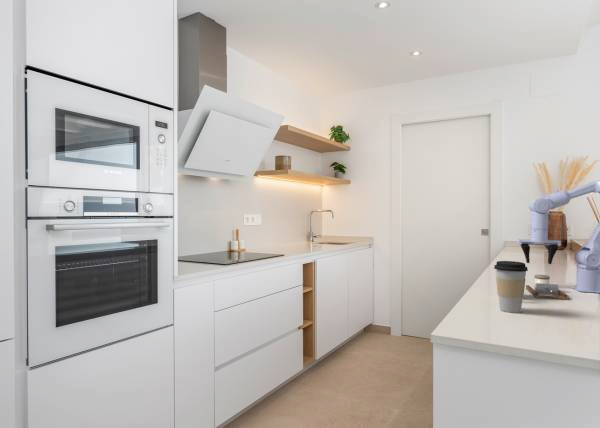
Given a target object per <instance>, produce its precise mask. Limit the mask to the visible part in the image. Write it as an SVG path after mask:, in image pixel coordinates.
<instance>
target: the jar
mask: <svg viewBox="0 0 600 428" xmlns="http://www.w3.org/2000/svg"><path fill="white" fill-rule="evenodd" d="M533 278H534V290H535V291H536V283H541V284H550V279H551V276H550V275H546V274H534V277H533Z"/></svg>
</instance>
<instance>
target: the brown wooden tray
mask: <svg viewBox="0 0 600 428" xmlns="http://www.w3.org/2000/svg"><path fill="white" fill-rule="evenodd" d="M525 290H527V292H529V294H531V295H532V296H533V297H534V298H535V299H547V300H561V301H569V299H570V298H569V296H568V294H567V293H565V292H564V291H562V290H561V289H559V288H558V296H552V295H538V292H536V291H535V288H533V287H531V286H530V285H529V284H525Z"/></svg>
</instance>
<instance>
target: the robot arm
mask: <svg viewBox="0 0 600 428" xmlns="http://www.w3.org/2000/svg"><path fill="white" fill-rule="evenodd" d="M590 193H594V194H595V193H598V194H600V180H595V181H591V182H588V183H585V184H583V185H580V186H578V187H575V188H573V189H570V190H568V191H565V190H563V189H562V190H559V189H556V190H554V191H553V193H550V194H547V195H545V194H544V195H541V198H535V199H533V200H532V201H531V202H530V204H529V206H528V208H529V210H530V212H531V217H530V238H529V239H521V238H520V239H517V244H518V245H520V247H521V249H522V252H523V254H524V257H525V258H524V259H525V262H526V263H527V264H530V251H531V247H530V246H531V245H532V246H533V245H534V246H547V251H548V252H547V254H548V255H547V264H548V265H552V262H553V260H554V258H555V254H556V253H557V251H558V250H559V247H561V246H562V240H557V239H556V240H553V239H549V237H548V236H549V234H548V233H549V231H548V230H549V212H550V211H551V210H554V209H557V208H560V207H562V206H566V205H568V204H569V203H570V202H571V200H573V199H575V198H578V197H582V196H584V195H587V194H588V195H589V194H590ZM573 257H574V260H575V261H574V262H576V263H577V264H576V277H575V278H576V282H575V283H576V284H575V285H576V286H572V289H574V290H576V291H578V292H582V293H596V294H600V220H599V221H598V223H597V225H595V228H594V230H593V231H592V234H591V235H590V237H589V239H588V241H587V242H585V243H584V244H583V245H582V246H581V247H580V249H578V250H577V251H576V252H575V253H574V256H573ZM526 263H525V264H526Z"/></svg>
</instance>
